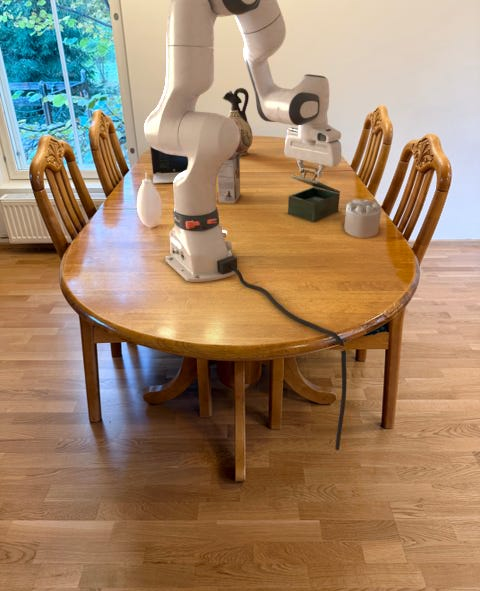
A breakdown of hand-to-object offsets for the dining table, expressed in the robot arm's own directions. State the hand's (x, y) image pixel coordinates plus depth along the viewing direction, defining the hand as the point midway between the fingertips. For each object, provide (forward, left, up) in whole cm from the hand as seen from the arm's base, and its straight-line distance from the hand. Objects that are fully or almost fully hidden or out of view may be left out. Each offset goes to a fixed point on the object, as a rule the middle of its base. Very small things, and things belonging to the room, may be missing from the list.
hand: (310, 175), depth 158 cm
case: (+1, -3, -14) cm, 14 cm away
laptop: (+57, +32, -14) cm, 67 cm away
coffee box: (+25, +19, -14) cm, 35 cm away
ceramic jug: (+85, -6, -14) cm, 86 cm away
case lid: (+1, -3, -4) cm, 5 cm away
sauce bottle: (+9, +51, -14) cm, 54 cm away
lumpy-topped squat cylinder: (-18, -10, -14) cm, 24 cm away
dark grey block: (+1, -2, -13) cm, 13 cm away
